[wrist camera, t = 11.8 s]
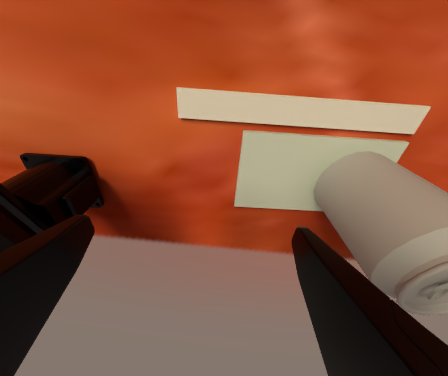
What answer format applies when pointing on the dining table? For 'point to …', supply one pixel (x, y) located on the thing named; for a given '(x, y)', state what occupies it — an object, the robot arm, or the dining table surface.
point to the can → (391, 227)
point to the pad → (295, 166)
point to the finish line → (299, 111)
